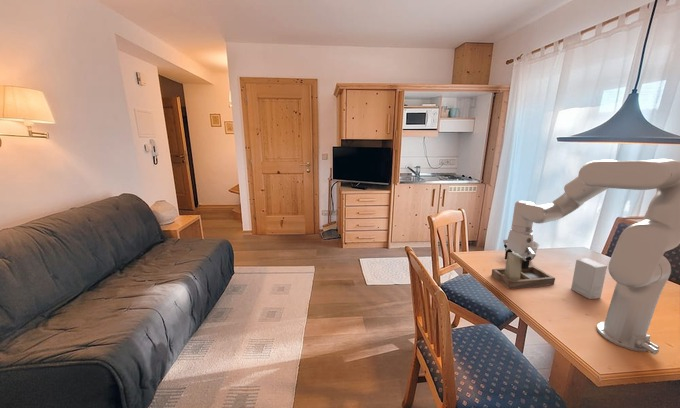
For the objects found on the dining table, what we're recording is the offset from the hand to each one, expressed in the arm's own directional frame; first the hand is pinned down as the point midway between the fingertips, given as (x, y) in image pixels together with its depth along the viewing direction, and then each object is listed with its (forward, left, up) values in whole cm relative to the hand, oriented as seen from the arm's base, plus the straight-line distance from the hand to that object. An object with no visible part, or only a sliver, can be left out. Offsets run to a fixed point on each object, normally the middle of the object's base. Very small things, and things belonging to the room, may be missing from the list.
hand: (516, 263), depth 122 cm
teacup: (+19, -21, -9) cm, 30 cm away
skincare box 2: (-13, -23, -9) cm, 28 cm away
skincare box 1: (+1, 0, -9) cm, 8 cm away
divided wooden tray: (+1, -5, -9) cm, 11 cm away
